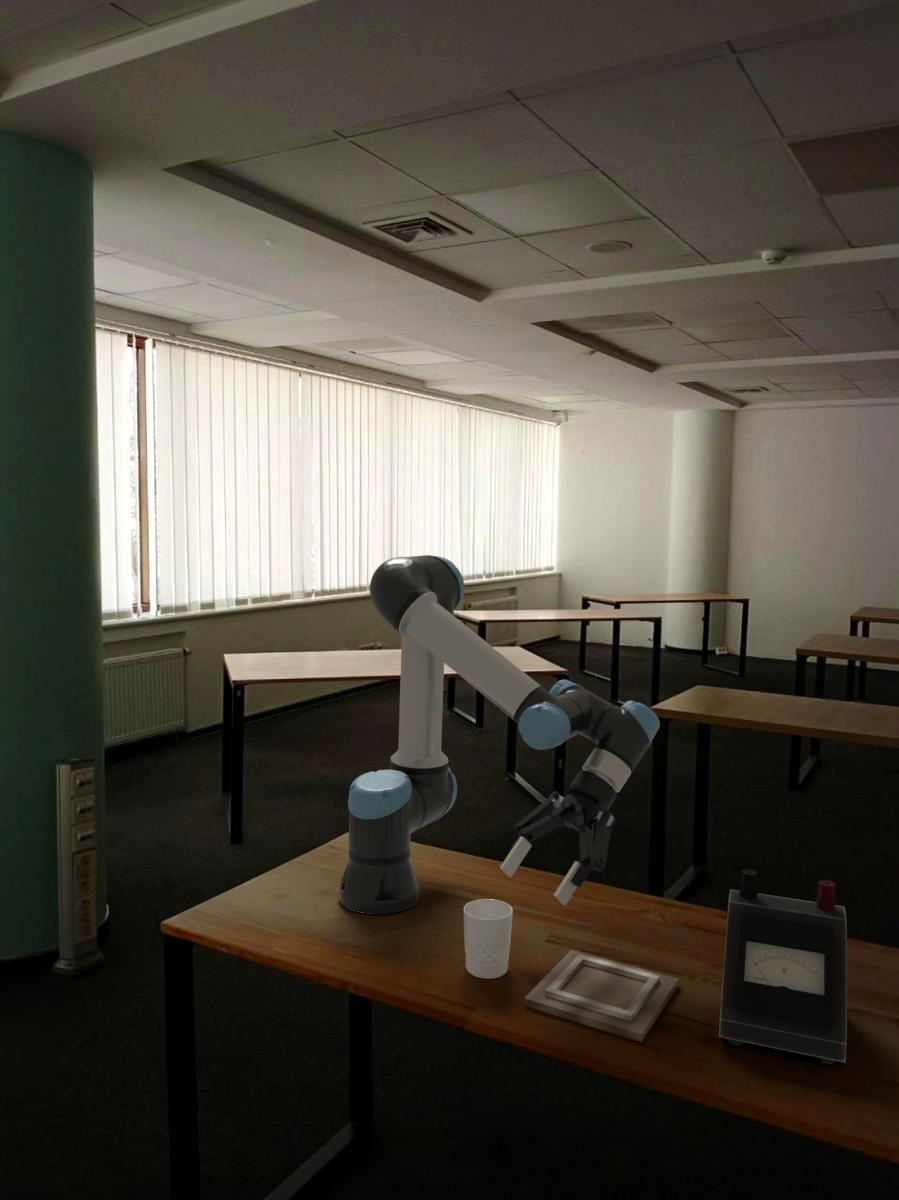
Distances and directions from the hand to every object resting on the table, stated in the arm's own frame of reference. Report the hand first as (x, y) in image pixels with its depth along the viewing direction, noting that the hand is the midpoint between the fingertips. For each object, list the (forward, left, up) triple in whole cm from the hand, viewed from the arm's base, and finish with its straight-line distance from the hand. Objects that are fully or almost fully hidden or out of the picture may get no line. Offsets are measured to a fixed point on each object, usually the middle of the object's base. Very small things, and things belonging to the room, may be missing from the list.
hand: (531, 886), depth 149 cm
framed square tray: (+15, -5, -12) cm, 20 cm away
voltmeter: (+40, 0, -13) cm, 42 cm away
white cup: (-4, -7, -13) cm, 15 cm away
